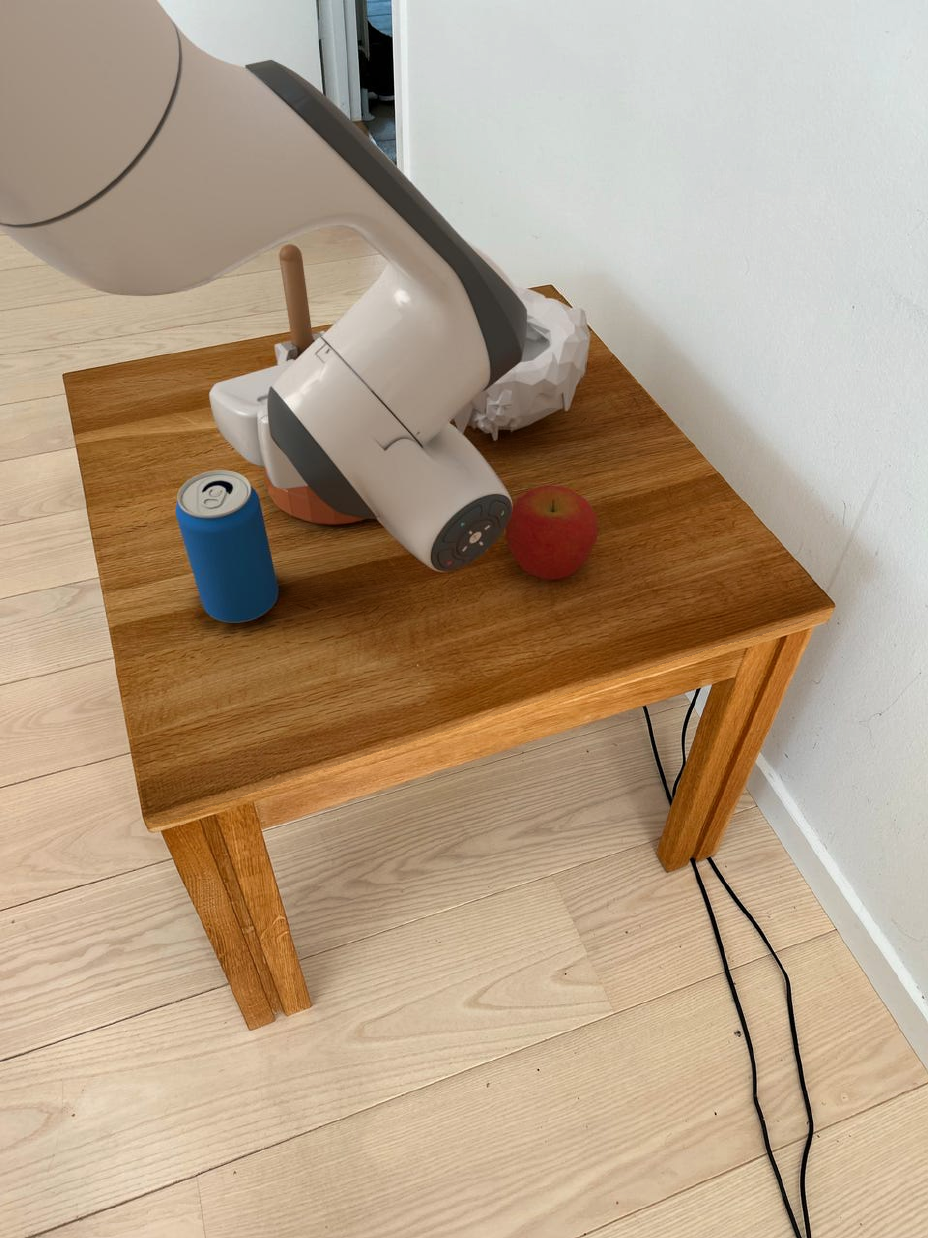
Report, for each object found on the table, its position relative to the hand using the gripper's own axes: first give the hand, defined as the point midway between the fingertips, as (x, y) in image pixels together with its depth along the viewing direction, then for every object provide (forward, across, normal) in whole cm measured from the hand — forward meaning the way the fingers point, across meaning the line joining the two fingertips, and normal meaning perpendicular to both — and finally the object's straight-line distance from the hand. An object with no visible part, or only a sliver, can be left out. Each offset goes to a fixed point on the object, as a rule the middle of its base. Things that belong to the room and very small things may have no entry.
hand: (299, 344), depth 81 cm
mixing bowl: (-1, -2, +15) cm, 15 cm away
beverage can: (-12, +13, +15) cm, 23 cm away
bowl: (+2, -22, +15) cm, 26 cm away
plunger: (-1, 0, +11) cm, 11 cm away
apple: (-22, -12, +15) cm, 29 cm away
